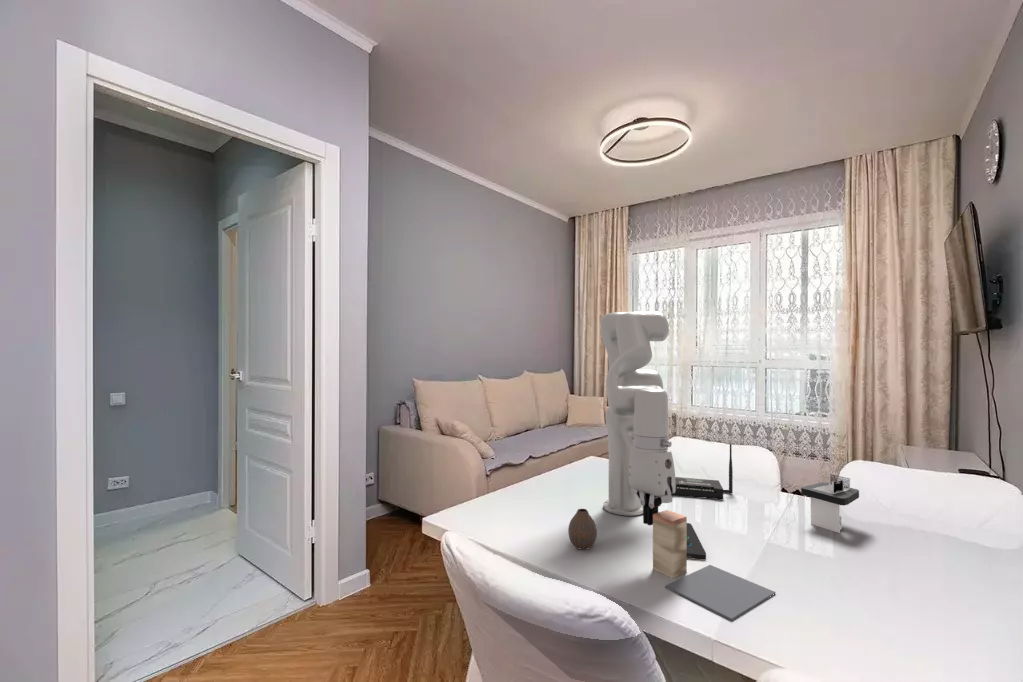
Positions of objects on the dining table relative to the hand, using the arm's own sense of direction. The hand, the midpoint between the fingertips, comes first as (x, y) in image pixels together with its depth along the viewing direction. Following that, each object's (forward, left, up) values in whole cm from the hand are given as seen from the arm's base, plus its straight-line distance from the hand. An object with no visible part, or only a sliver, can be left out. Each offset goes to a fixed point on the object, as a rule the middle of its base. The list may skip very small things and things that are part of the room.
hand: (650, 523), depth 105 cm
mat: (-1, +16, -9) cm, 18 cm away
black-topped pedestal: (-60, +14, -9) cm, 63 cm away
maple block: (0, +5, -9) cm, 10 cm away
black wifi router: (-56, -23, -9) cm, 61 cm away
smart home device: (-16, -3, -10) cm, 19 cm away
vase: (+7, -15, -9) cm, 19 cm away
